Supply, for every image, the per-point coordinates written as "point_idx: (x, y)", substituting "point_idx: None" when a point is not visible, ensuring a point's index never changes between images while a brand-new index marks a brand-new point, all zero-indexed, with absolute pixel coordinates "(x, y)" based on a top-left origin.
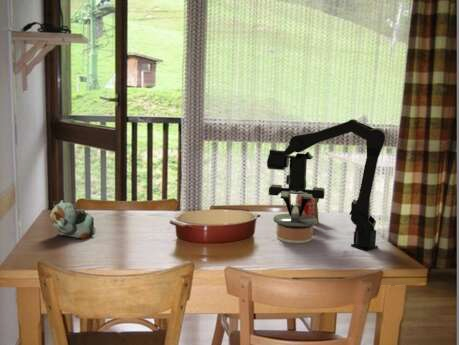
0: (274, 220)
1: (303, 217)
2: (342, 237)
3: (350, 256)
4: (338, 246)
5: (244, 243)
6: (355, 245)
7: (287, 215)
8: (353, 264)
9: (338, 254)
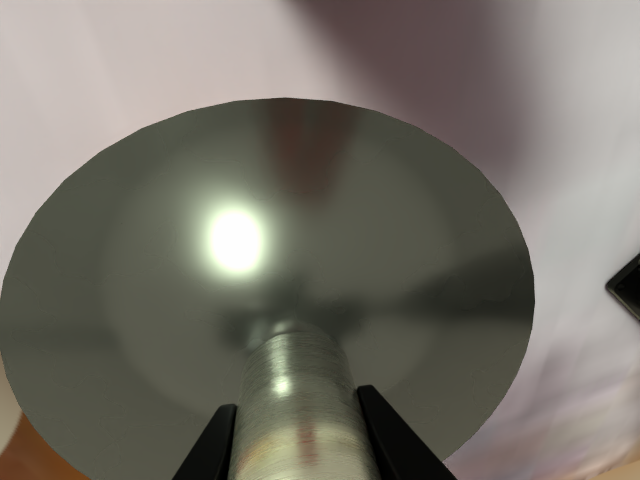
0: (95, 465)
1: (385, 286)
2: (615, 117)
3: (553, 407)
4: (537, 310)
5: (47, 456)
6: (630, 296)
7: (155, 272)
8: (540, 466)
9: (511, 406)
